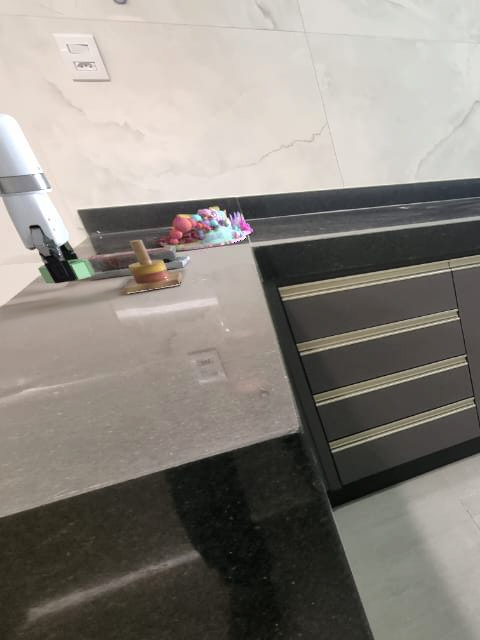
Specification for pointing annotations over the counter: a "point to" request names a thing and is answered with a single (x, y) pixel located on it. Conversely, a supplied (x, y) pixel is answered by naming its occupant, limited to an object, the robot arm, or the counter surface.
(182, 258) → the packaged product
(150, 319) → the counter surface
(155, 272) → the stacking stand
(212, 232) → the candy landscape model
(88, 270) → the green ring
